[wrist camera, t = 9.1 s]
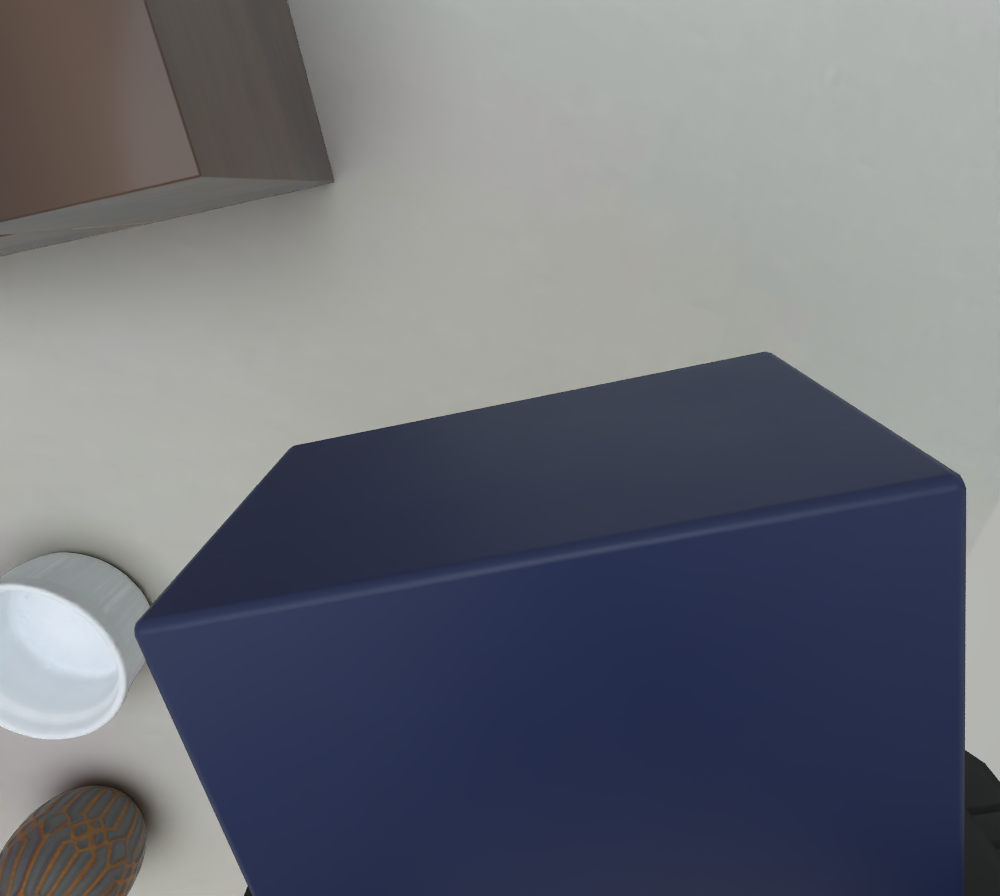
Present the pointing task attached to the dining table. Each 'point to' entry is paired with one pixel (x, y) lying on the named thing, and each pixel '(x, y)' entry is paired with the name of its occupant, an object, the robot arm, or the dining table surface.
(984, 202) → the dining table surface
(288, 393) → the dining table surface
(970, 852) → the robot arm
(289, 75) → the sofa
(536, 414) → the book
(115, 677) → the ramekin
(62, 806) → the vase
